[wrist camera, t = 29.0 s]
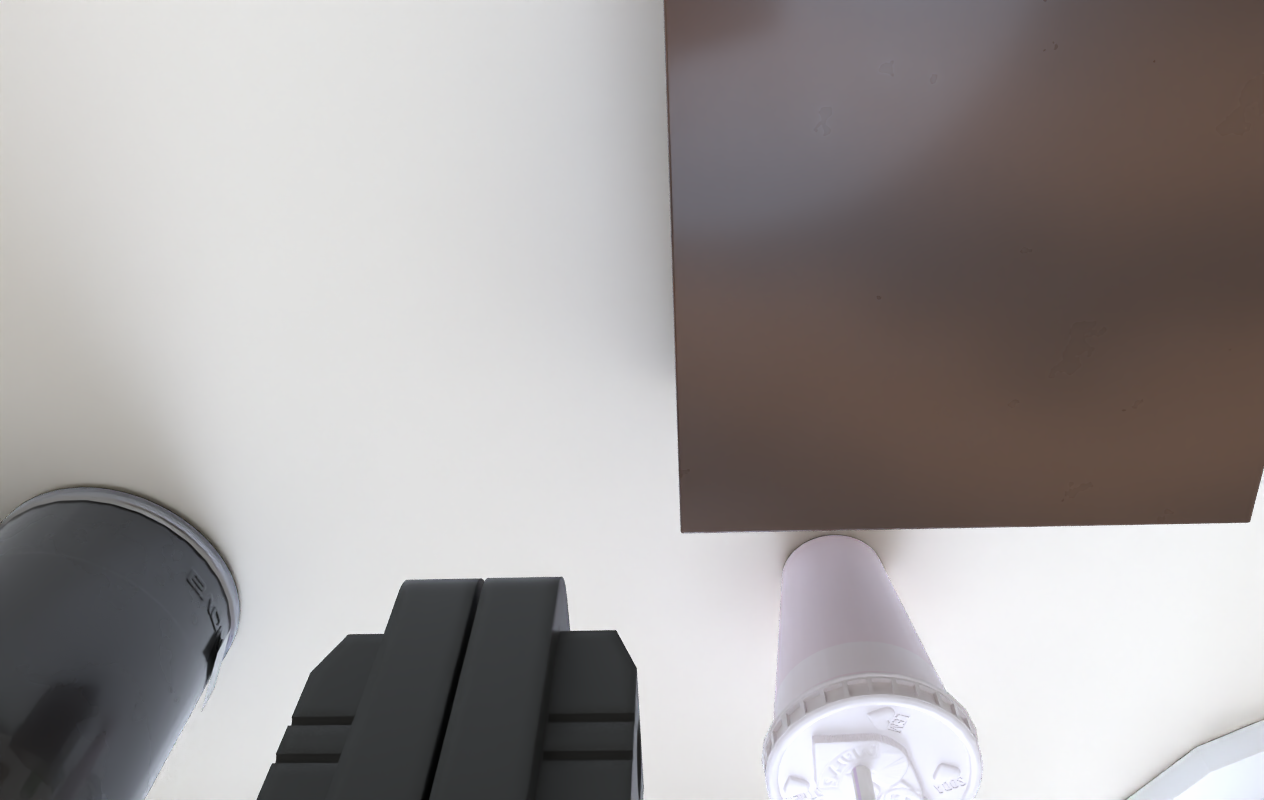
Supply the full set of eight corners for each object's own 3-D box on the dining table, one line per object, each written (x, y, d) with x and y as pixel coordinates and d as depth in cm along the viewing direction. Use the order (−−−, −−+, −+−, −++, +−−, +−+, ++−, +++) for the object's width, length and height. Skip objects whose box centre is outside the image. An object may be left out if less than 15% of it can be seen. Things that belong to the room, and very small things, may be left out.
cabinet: (664, -136, 30) (659, -118, 22) (1225, -164, 29) (1423, -156, 22) (679, 384, 37) (680, 534, 30) (1128, 372, 37) (1250, 523, 29)
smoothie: (829, 471, 39) (902, 780, 26) (957, 568, 41) (1081, 900, 28) (709, 584, 41) (724, 914, 29) (835, 671, 43) (900, 1017, 31)
